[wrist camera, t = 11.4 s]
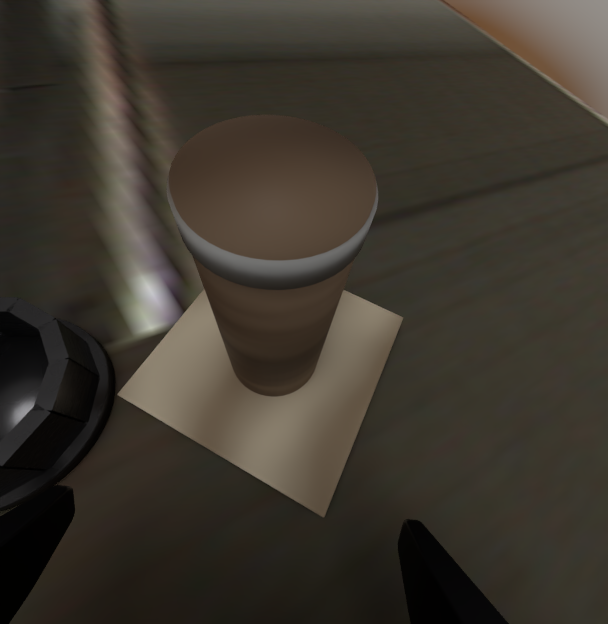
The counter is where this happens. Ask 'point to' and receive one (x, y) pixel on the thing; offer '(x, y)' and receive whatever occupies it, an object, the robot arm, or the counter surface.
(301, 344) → the tapered cup
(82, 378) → the cup
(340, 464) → the beige cloth napkin
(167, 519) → the counter surface
